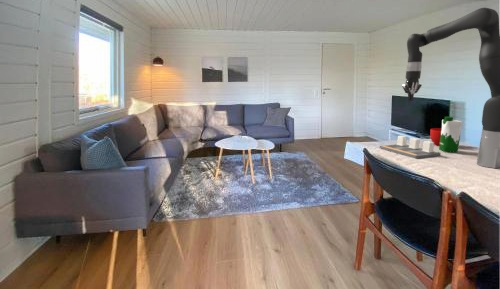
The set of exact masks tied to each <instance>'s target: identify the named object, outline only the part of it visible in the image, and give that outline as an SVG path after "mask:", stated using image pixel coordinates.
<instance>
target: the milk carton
mask: <svg viewBox="0 0 500 289" xmlns="http://www.w3.org/2000/svg"><path fill="white" fill-rule="evenodd" d="M463 124H464V121H462V120H457V119H454V117H453V116H444V119H442V120H441V128H442V130H441V138H440V145H439V146H438V151H439V150H440V151H441V152H443V153H454V154H455V153H457V154H458V152H459V147H460V142H461V133H462V129H463V128H462V127H463Z"/></svg>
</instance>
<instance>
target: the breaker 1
mask: <svg viewBox="0 0 500 289" xmlns="http://www.w3.org/2000/svg"><path fill="white" fill-rule="evenodd" d="M407 141H408V136H407V135H406V136H405V135H398V136H397V141H396V143H395V144H396V145H400V146H407V145H408V144H407Z"/></svg>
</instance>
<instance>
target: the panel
mask: <svg viewBox="0 0 500 289" xmlns="http://www.w3.org/2000/svg"><path fill="white" fill-rule="evenodd" d="M396 144H397V143H395V144H386V145H379V149H380V148H382V149H381V150H384V151H387V152H390V153H391V152H392V153H395V154H399V155H401V156H405V157H409V158H412V159H416V160H417V159H423V158H432V157H440V156H441V154H442V153H441V152H439V151H434V150H433V151H434V152H431V153H428V152H424V151H422V150H423V147H419V148H420V149H412V148H408V147H409V144H406V145H407V146H400V145H396Z"/></svg>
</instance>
